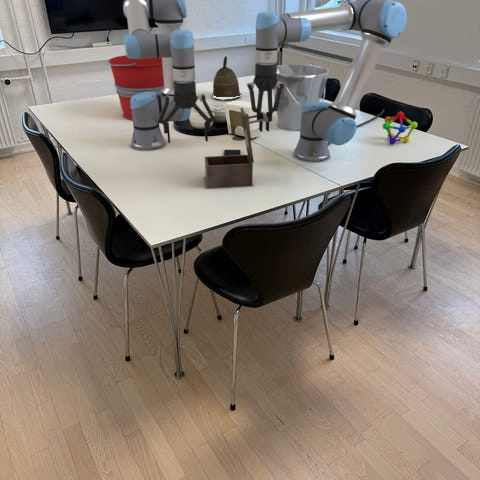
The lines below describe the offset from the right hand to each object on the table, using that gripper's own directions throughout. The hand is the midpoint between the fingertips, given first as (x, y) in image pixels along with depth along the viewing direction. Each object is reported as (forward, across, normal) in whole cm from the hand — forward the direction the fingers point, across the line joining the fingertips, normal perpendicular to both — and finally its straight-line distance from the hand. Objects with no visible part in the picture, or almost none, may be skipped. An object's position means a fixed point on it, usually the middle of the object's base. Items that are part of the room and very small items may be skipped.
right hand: (264, 130), depth 164 cm
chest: (+20, -14, 0) cm, 24 cm away
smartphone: (+20, -9, +25) cm, 33 cm away
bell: (+20, +1, +128) cm, 129 cm away
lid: (+2, -7, 0) cm, 7 cm away
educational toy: (+20, +71, +33) cm, 81 cm away
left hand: (+3, -28, 0) cm, 28 cm away
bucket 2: (+20, +30, +66) cm, 75 cm away
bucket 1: (+20, -49, +97) cm, 110 cm away
